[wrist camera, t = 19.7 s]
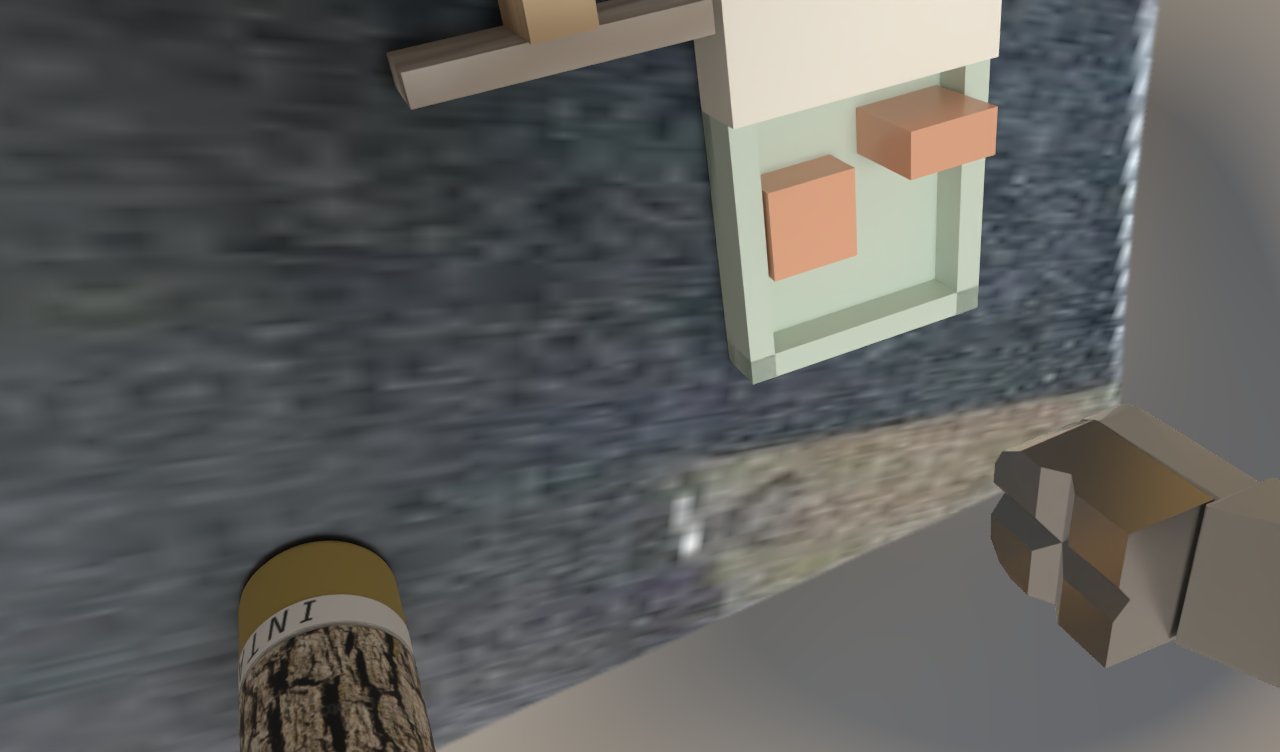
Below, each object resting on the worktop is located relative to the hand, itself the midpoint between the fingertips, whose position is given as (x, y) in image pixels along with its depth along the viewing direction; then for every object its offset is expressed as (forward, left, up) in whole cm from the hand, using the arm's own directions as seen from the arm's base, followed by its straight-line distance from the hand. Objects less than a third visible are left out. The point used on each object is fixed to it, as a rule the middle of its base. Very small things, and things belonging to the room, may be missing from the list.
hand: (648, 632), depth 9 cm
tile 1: (+10, +16, -26) cm, 33 cm away
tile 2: (+6, +22, -26) cm, 35 cm away
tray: (+11, +19, -29) cm, 36 cm away
